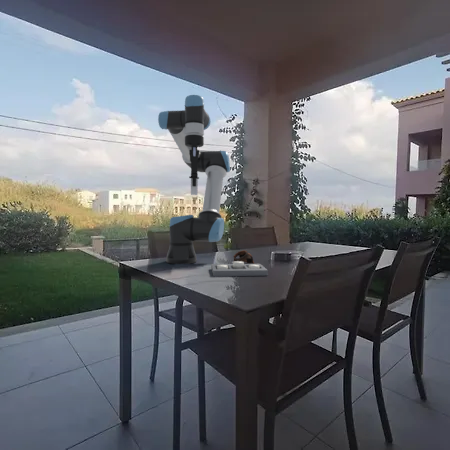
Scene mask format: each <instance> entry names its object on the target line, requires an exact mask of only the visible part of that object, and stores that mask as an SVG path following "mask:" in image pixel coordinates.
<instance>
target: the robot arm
mask: <svg viewBox="0 0 450 450" xmlns="http://www.w3.org/2000/svg"><path fill="white" fill-rule="evenodd" d="M204 102H205V101H204V97H202V95H199V94H190V95H187V96H186V97H185V101H184V110H166V111H160V112H159V114H158V119H157V120H158V125H159V128H160V129H162V130H168V131H169V132H168V133H170V135H171V137H172V138H173V140H174V142H175V144H176V146H177V147H178V150H179V152H181V155H182V156H181V158H182V160H183V162H184V163H185V164H186V165H187V166H188V167H189V168H190V171H191V172H190V176H189V179H190V195H191V196H198V182H199V181H198V180H199V179H200V177H199V176H198V173H205V175H206V176H207V177H206V183H205V184H206V185H205V190H204V197H203V204H202V211H200V212H199V213H198V217H194V215H193V214H187V215H179V216H172V217H170V219H169V226H168V227H169V248H168V251H167V254H166V258H165V262H166V263H167V264H173V265H177V264H178V265H181V264H182V265H183V264H184V265H189V264H195V263H197V261H198V259H197V255H196V252H195V247H194V242H208V243H214V242H215V243H216V242H219V241H220V240H222V237H223V236H224V235H223V234H224V230H225V220H224V218H223V216H222V215H221V214H220V209H221V208H220V207H221V199H222V191H223V183H224V182H223V181H224V178H225V177H226V176H227V173H230V171H231V164H230V156H229V152H228V151H226V150H201V151H200V150H199V149H198V148H202V147H204V141H205V140H204V139H205V138H204V135H205V133H204V131H205V130H207V129H208V128H209V127H211V126H210V125H211V117H210V115H209V113H208V112H207V111H206V109H205V103H204Z"/></svg>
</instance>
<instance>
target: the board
mask: <svg viewBox="0 0 450 450" xmlns="http://www.w3.org/2000/svg"><path fill="white" fill-rule="evenodd" d="M217 265H227V266H228V269H217ZM249 265H259V266H260V267H259V269H249ZM210 268H211V273H212V275H213V277H253V276H254V277H256V276H257V277H259V276H260V277H261V276H263V277H264V276H269V269H267V268H265V266H264V265H262V264H261V263H254V264H253V263H244V268H243V269H234V268H233V263H211V265H210Z"/></svg>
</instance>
